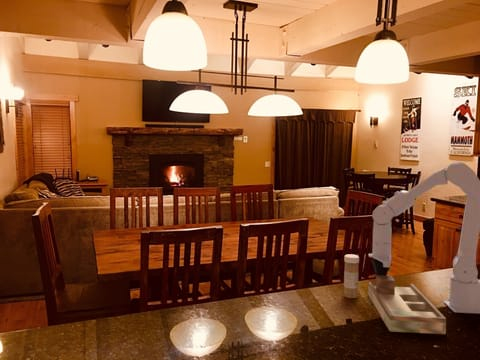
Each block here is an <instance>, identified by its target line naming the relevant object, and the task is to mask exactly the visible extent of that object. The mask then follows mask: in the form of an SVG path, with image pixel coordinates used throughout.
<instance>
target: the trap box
mask: <svg viewBox="0 0 480 360" xmlns="http://www.w3.org/2000/svg"><path fill="white" fill-rule="evenodd" d="M409 286H410V287H406V286H395V295H387V294H379V293H378V291H377V290H376V285H374V284H373V283H372V282H371V281H368V293H367V295H368V297H369V298H370V300H371V302H372V304H373V305H374V307H375V309H376V311H377V312H378V314H379V315H380V317H381V319H382V321H383V322H384V324H385V326H386V328H387V329H388V331H389V332H392V333H393V332H397V333H414V334H415V333H417V334H431V335H432V334H433V335H434V334H435V335H446V332H447V331H446V330H447V318H446V317H445V316H444V315H443V313H441V312H440V310H438V308H437V307H436V306H435V305H434V304H433V303H432V302H431V301H430V300H429V299H428V298H427V296H425V295H424V294H423V293H422V292H421V291H420V289H419V288H418V287H417V286H416V285H415V284H414V283H410V285H409Z"/></svg>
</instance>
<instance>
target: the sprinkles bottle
mask: <svg viewBox="0 0 480 360" xmlns="http://www.w3.org/2000/svg"><path fill="white" fill-rule="evenodd" d="M343 258H344V259H343V260H344V274H343V275H344V276H343V286H344V287H343V296H344V297H345V298H347V299H356V298H358V297H359V292H358V288H359V263H360V257H359V255H357V254H354V253H353V254H352V253H351V254H348V253H347V254H345V255H344V257H343Z"/></svg>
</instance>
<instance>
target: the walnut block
mask: <svg viewBox="0 0 480 360" xmlns="http://www.w3.org/2000/svg"><path fill="white" fill-rule="evenodd" d="M375 280H376V283H375V286H376V290H377V291H378V293H379V294H387V295H395V287H396V280H395V278H394V277H393V276H392V275H386V276H382V275H376V274H375Z"/></svg>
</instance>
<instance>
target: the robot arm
mask: <svg viewBox="0 0 480 360" xmlns="http://www.w3.org/2000/svg"><path fill="white" fill-rule="evenodd" d="M449 182H450V183H451V184H452V185H455V186H456V187H458V188H459V189H460V190H461V191H462V192H463V193H464V194H465V195H466V199H465V205H464V212H463V218H462V225H461V231H460V238H459V245H458V248H457V249H458V250H457V253H456V255H455V256H454V258H453V260H452V267H453V268H452V274H451V275H450V279H449V282H450V283H449V298H448V300H443V303H444V304H445V305H446V306H448V308H449V309H451V311H453V312H454V313H462V314H463V313H464V314H479V315H480V279H479V278H478V274H479V272H478V269H477V263H476V262H477V248H478V244H479V237H480V179H479V177H478V176H477V174H476V172H475V171H474V169H472V168H471V167H470V166H469V165H467V164H466V163H465V162H462V161H455V162H452V163H450V164H449V165H448V166H445V167H443V168H441V169H439V170H437V171H435V172H433V173H432V174H430V175H429V176H427V177H426V178H425V179H424V180H422V181H421V182H419V183H418V184H416V185H414V186H413V187H412V188H411V189H409V190H400V191H398V190H397V191H396V192H394V193H393V194H394V195H393V196H392V197H390V198H389V199H387V200H383V201H382V202H381V203H382V204H380V205H378V206H376V208H375V209H374V210H373V211H372V214H371V215H372V219H373V227H372V250H371V251H372V252H371V253H368V257H369V258H373V259H371V260H370V261H371V263H372V265H373V268H374V274H375V276H376V275H382V276H388V272H389V270H390V269H391V267H392V265H393V264H392V263H391V260H392V234H393V233H392V231H393V230H392V229H393V228H392V219H394V217H397V216H400V215H401V214H402V213H404V212H406V210H408V209H410V208H411V207H413V206H414V204H415V200H416V199H417V198H419V197H420V196H422V195H424V194H426V193H427V192H428V191H430V190H432V189H433V188H434V187H437V186H441V185H448V183H449Z"/></svg>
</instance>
